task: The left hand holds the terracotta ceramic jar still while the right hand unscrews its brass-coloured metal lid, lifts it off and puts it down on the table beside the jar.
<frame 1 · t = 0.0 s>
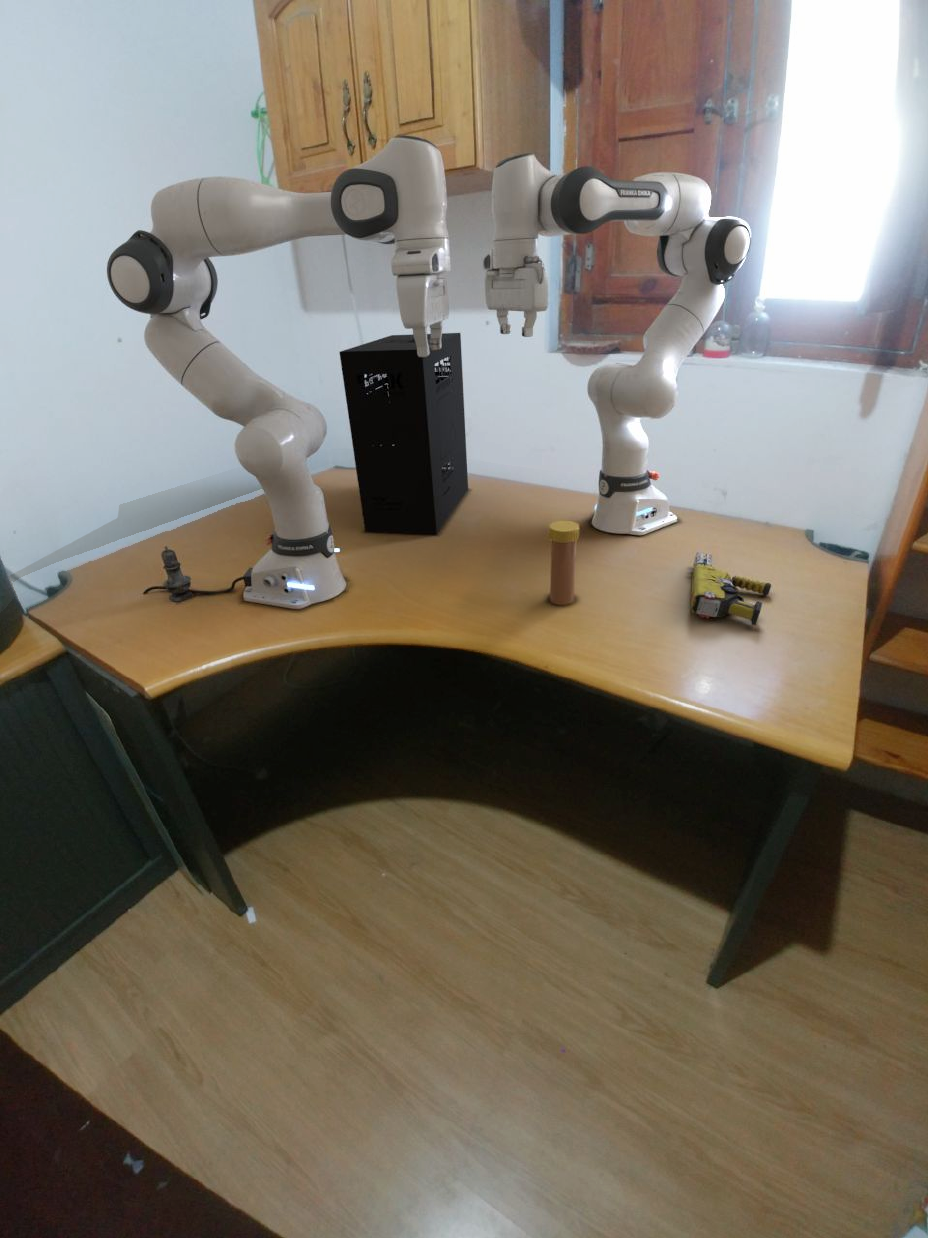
left hand: (430, 352, 106), 48 cm above the table, tool pointing down, fingers open, 8 cm apart
right hand: (516, 335, 125), 48 cm above the table, tool pointing down, fingers open, 8 cm apart
jar: (561, 599, 125), on the table
grey chess piece: (181, 596, 136), on the table
black computer case: (420, 509, 177), on the table
lid: (564, 527, 117), point 16 cm above the table, screwed on, not yet turned
toy gun: (729, 597, 122), on the table
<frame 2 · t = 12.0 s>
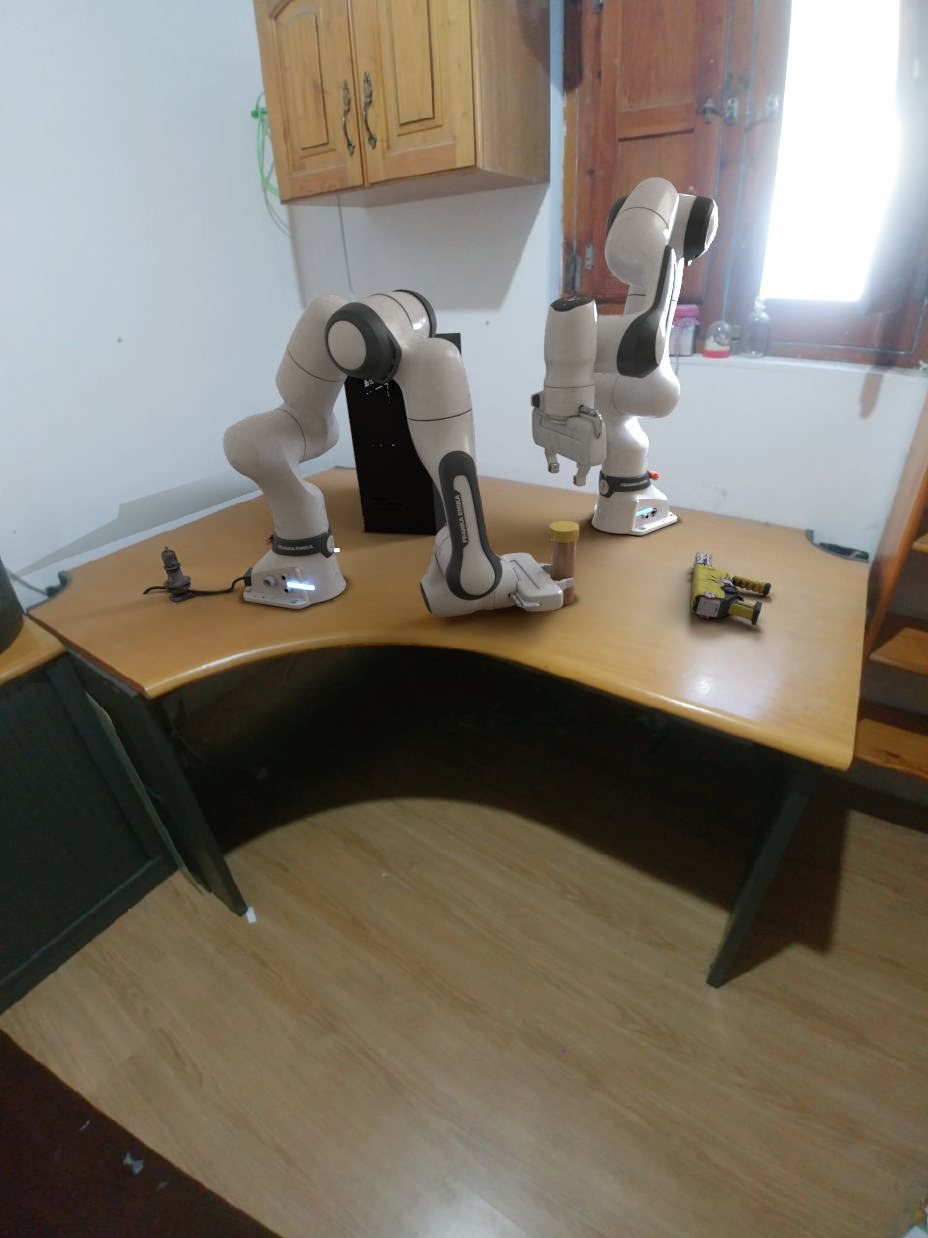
left hand: (566, 574, 123), 6 cm above the table, tool horizontal, fingers closed on jar, 5 cm apart
right hand: (566, 478, 112), 26 cm above the table, tool pointing down, fingers open, 8 cm apart
jar: (561, 599, 125), on the table, touching left hand
everything else where it was.
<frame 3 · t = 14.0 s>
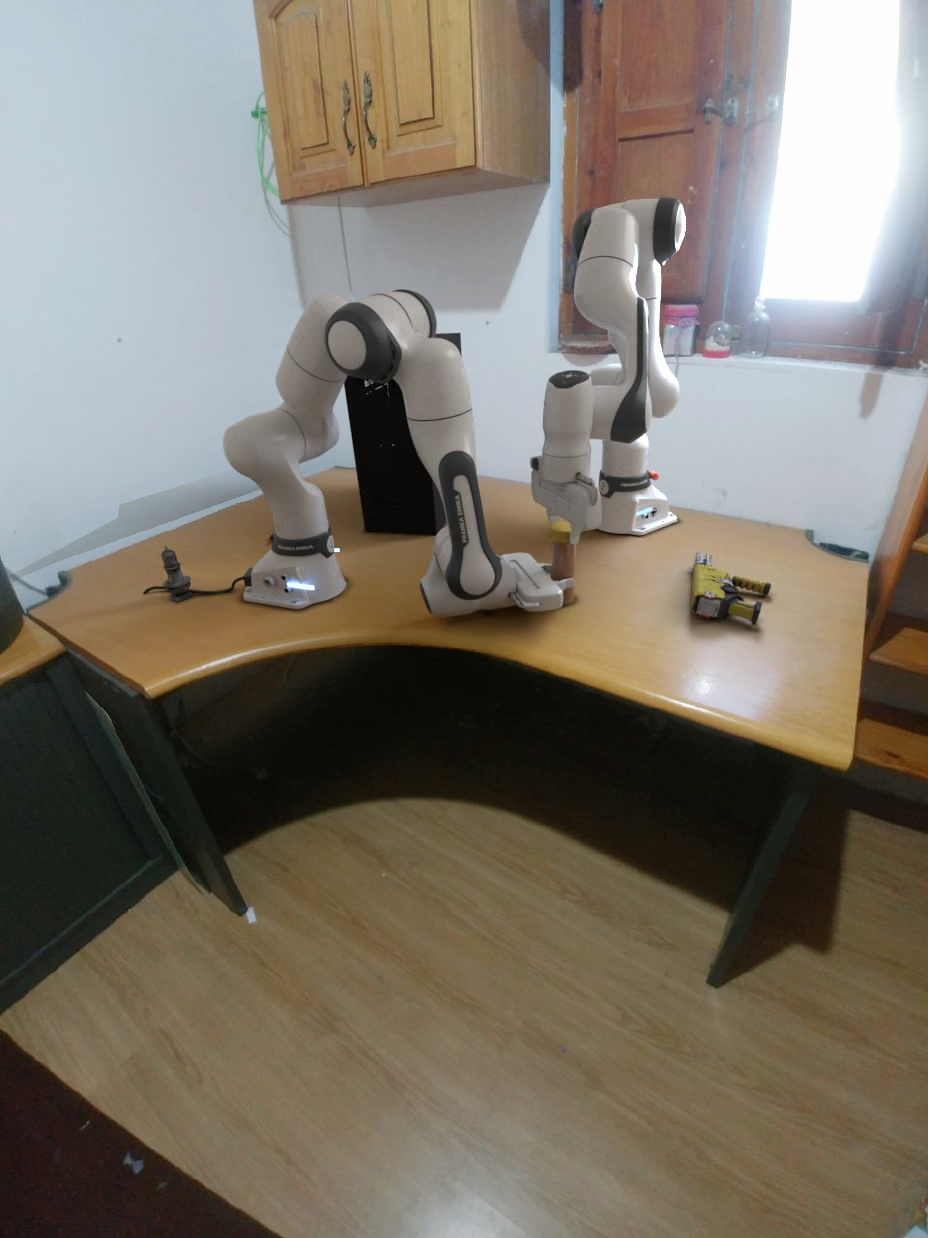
left hand: (566, 574, 123), 6 cm above the table, tool horizontal, fingers closed on jar, 5 cm apart
right hand: (563, 536, 118), 14 cm above the table, tool pointing down, fingers closed on lid, 5 cm apart
jar: (561, 599, 125), on the table, touching left hand
lid: (564, 527, 117), point 16 cm above the table, screwed on, not yet turned, touching right hand
everything else where it was.
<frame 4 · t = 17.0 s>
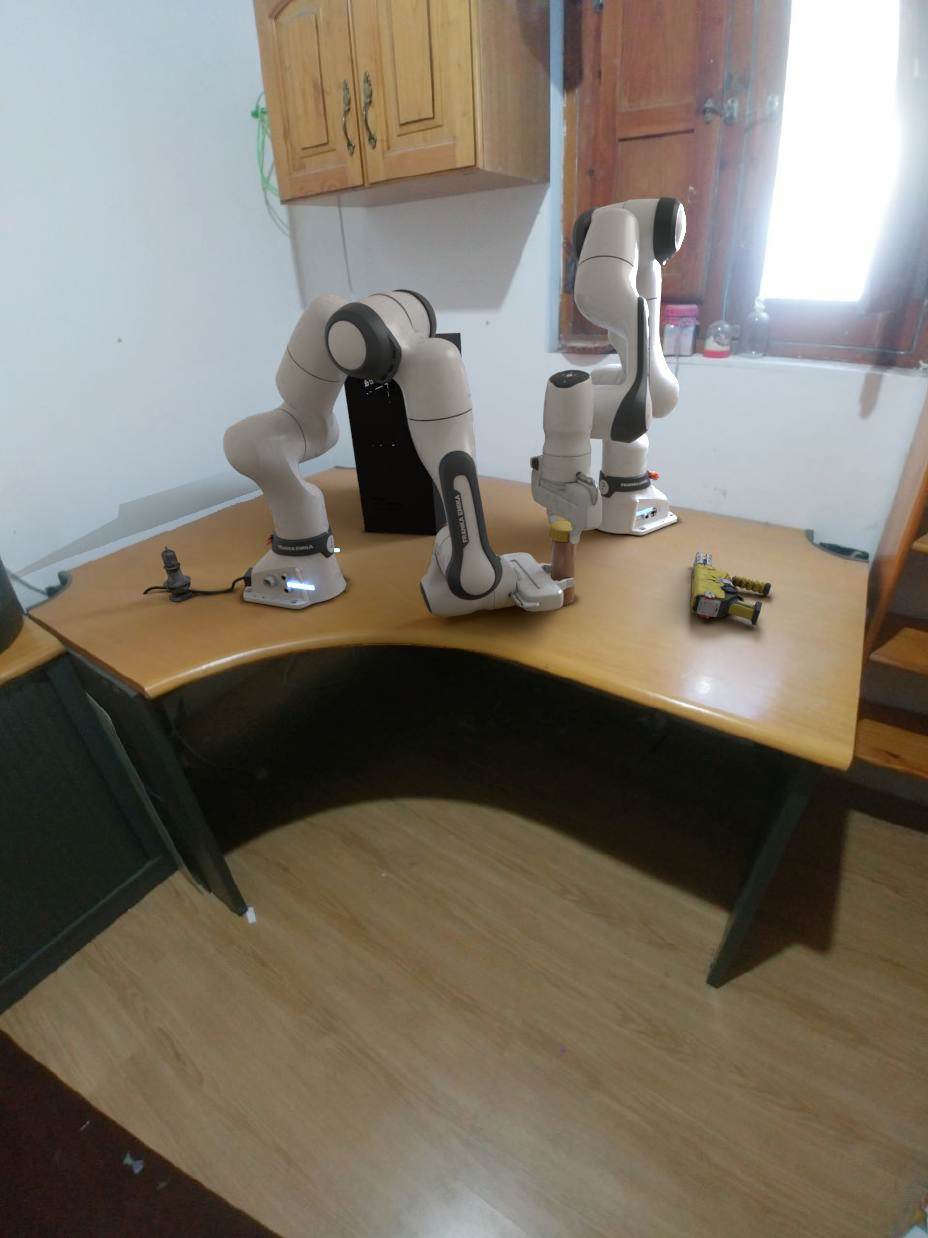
left hand: (566, 574, 123), 6 cm above the table, tool horizontal, fingers closed on jar, 5 cm apart
right hand: (563, 536, 118), 14 cm above the table, tool pointing down, fingers closed on lid, 5 cm apart
jar: (561, 599, 125), on the table, touching left hand
lid: (564, 526, 117), point 16 cm above the table, turned 88° so far, risen 0.1 cm, still on its thread, touching right hand
everything else where it was.
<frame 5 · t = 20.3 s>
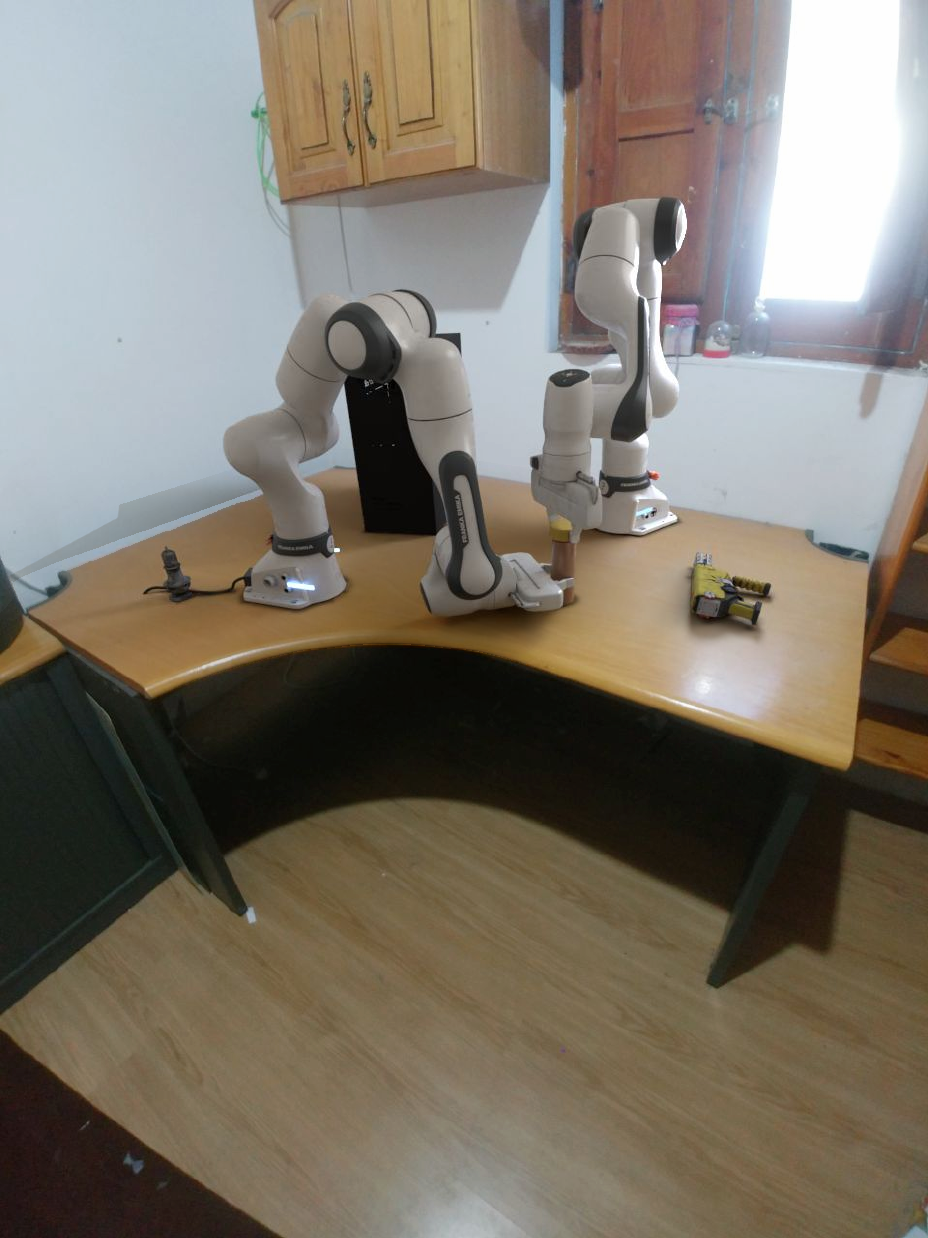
left hand: (566, 574, 123), 6 cm above the table, tool horizontal, fingers closed on jar, 5 cm apart
right hand: (563, 535, 118), 14 cm above the table, tool pointing down, fingers closed on lid, 5 cm apart
jar: (561, 599, 125), on the table, touching left hand
lid: (564, 526, 117), point 16 cm above the table, turned 176° so far, risen 0.3 cm, still on its thread, touching right hand
everything else where it was.
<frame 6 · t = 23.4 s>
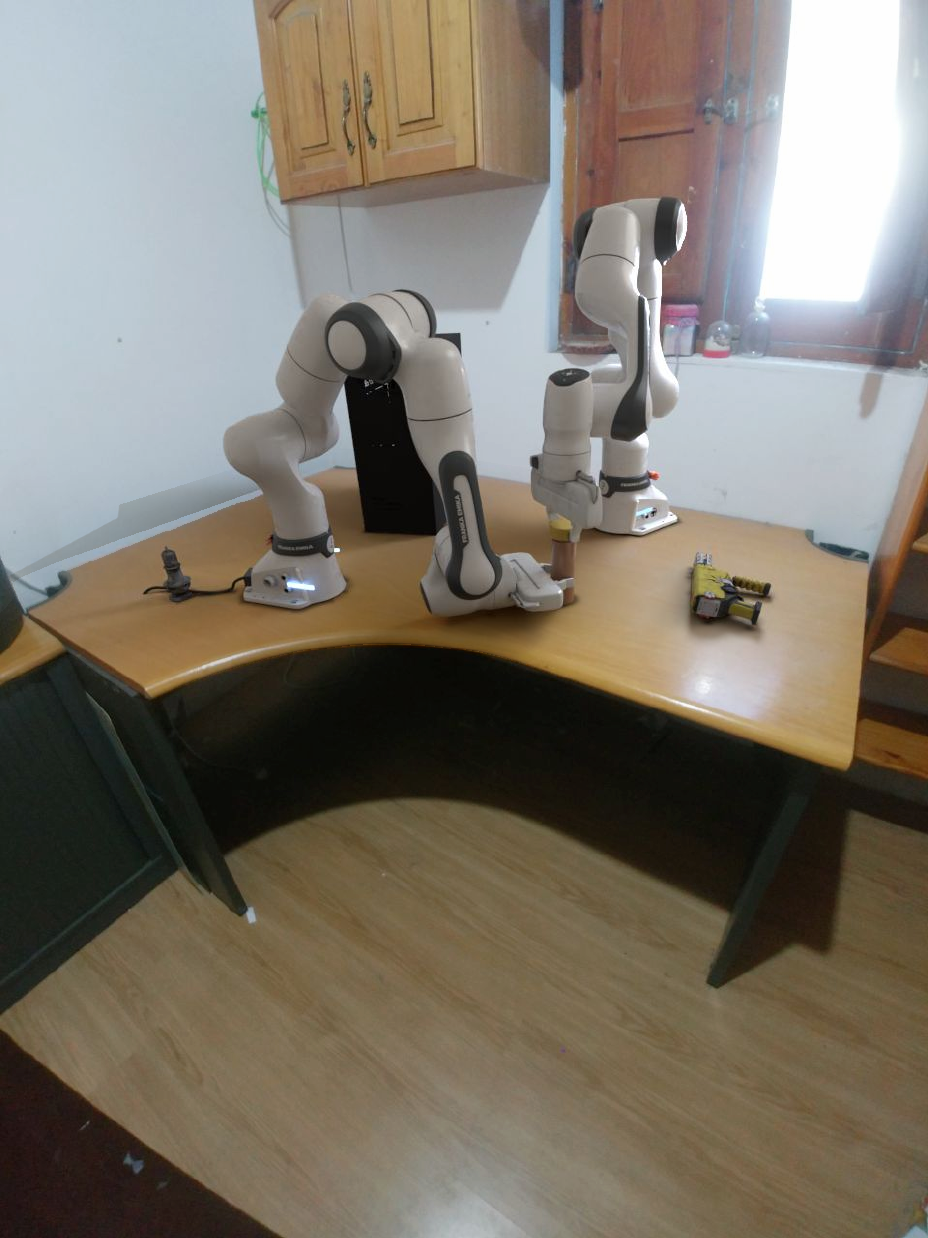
left hand: (566, 574, 123), 6 cm above the table, tool horizontal, fingers closed on jar, 5 cm apart
right hand: (563, 534, 118), 14 cm above the table, tool pointing down, fingers closed on lid, 5 cm apart
jar: (561, 599, 125), on the table, touching left hand
lid: (564, 525, 117), point 16 cm above the table, turned 264° so far, risen 0.4 cm, still on its thread, touching right hand
everything else where it was.
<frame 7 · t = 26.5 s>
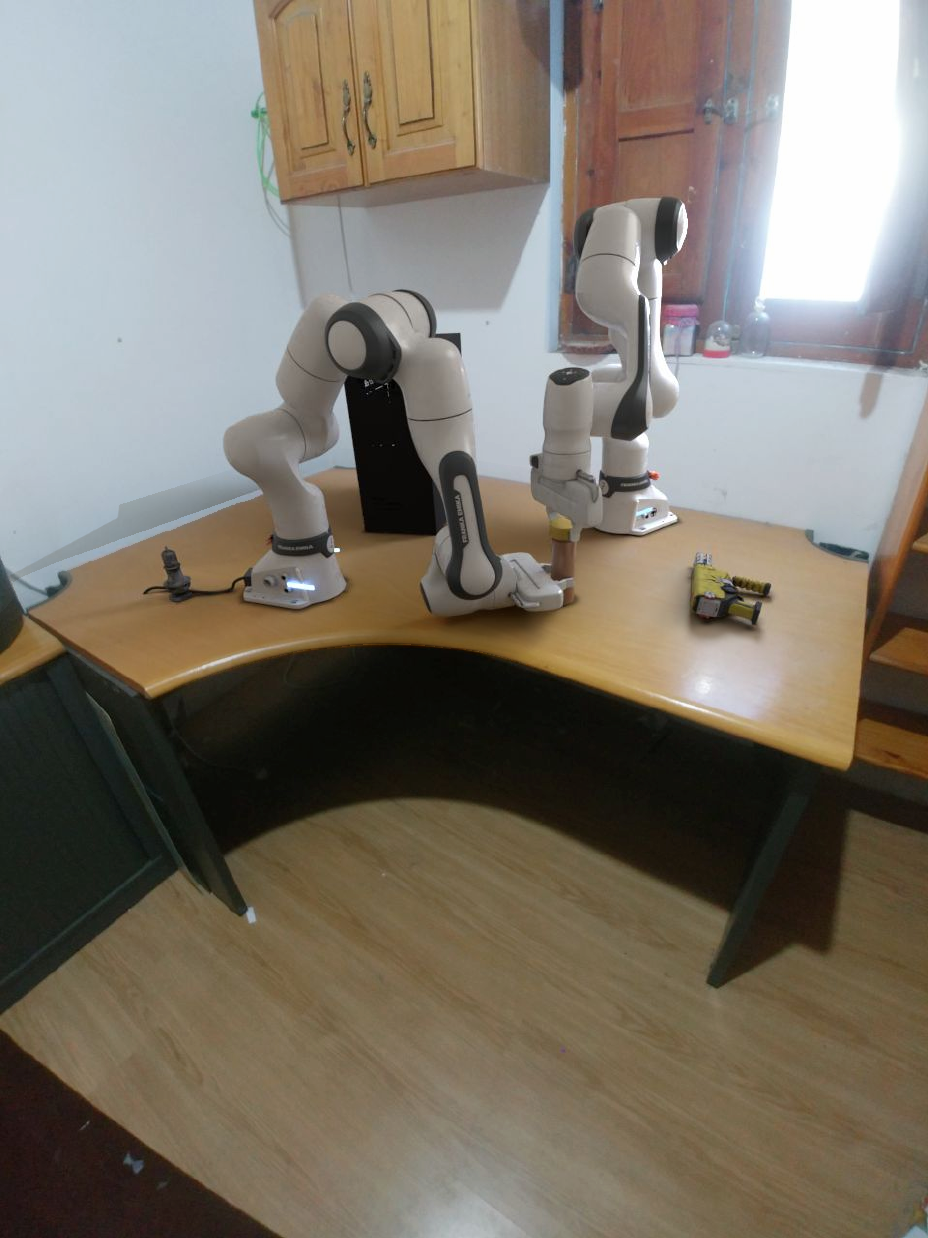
left hand: (566, 574, 123), 6 cm above the table, tool horizontal, fingers closed on jar, 5 cm apart
right hand: (563, 534, 118), 14 cm above the table, tool pointing down, fingers closed on lid, 5 cm apart
jar: (561, 599, 125), on the table, touching left hand
lid: (564, 524, 117), point 16 cm above the table, turned 353° so far, risen 0.5 cm, still on its thread, touching right hand
everything else where it was.
when the right hand's fingers open (2 cm above the table, at t = 33.6 s): lid drops 2 cm, point 2 cm above the table.
when the left hand's fingers open (6 cm above the table, at t = 34.7 s): jar stays where it is, on the table.
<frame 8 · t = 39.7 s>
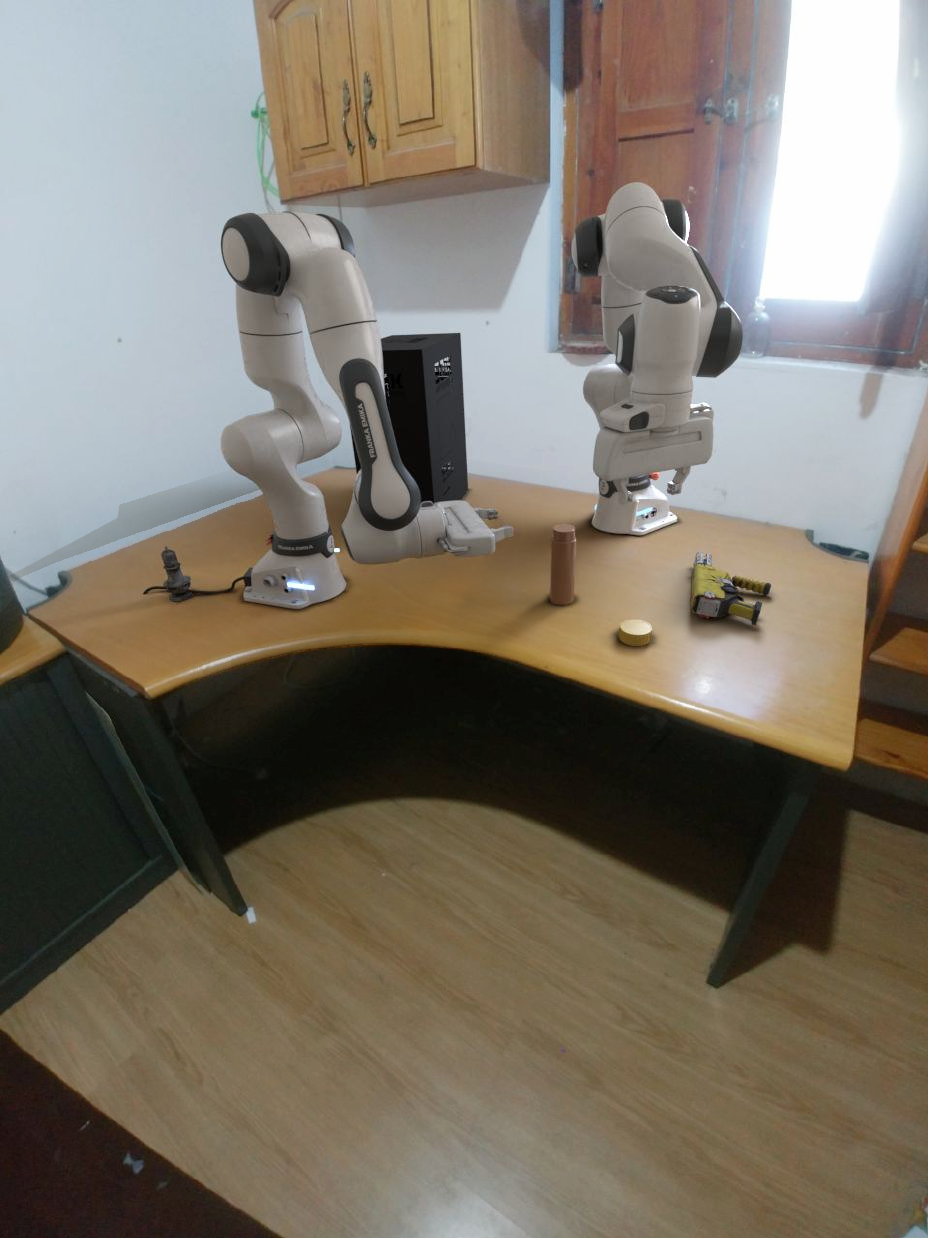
left hand: (504, 521, 113), 19 cm above the table, tool horizontal, fingers open, 8 cm apart
right hand: (649, 498, 98), 27 cm above the table, tool pointing down, fingers open, 8 cm apart
jar: (561, 599, 125), on the table
lid: (635, 628, 110), point 2 cm above the table, off its thread
everything else where it was.
at the end: lid came off its thread; lid point 2.0 cm above the table; the left hand is holding nothing; the right hand is holding nothing; jar tilted 0°; jar moved 0.0 cm from its start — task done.
